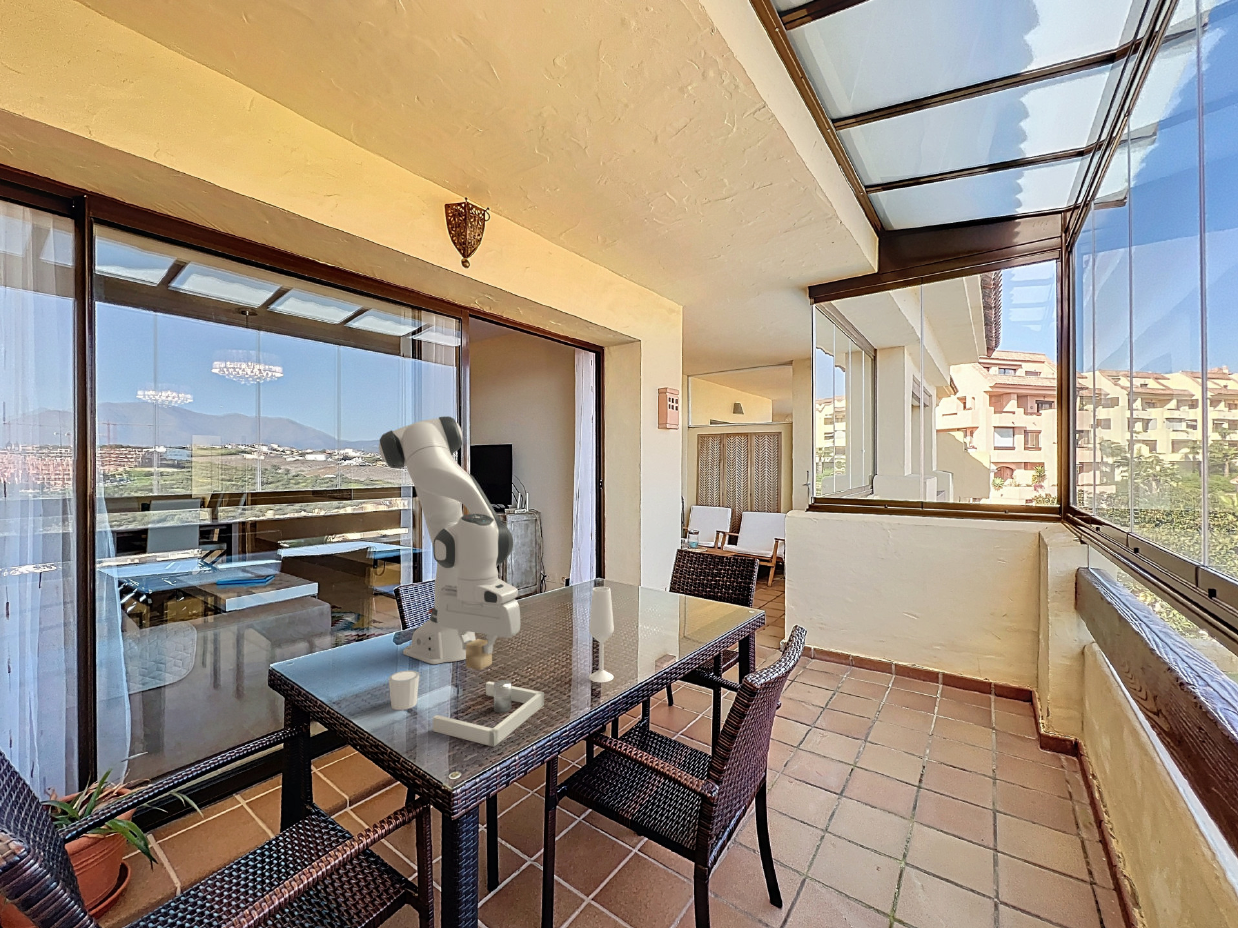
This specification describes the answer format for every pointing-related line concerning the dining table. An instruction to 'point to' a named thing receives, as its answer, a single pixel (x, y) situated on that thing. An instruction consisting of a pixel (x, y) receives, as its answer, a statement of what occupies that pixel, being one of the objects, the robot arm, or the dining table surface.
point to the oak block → (477, 655)
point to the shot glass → (404, 689)
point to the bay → (503, 729)
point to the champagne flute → (601, 627)
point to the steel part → (502, 696)
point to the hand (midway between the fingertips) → (477, 651)
